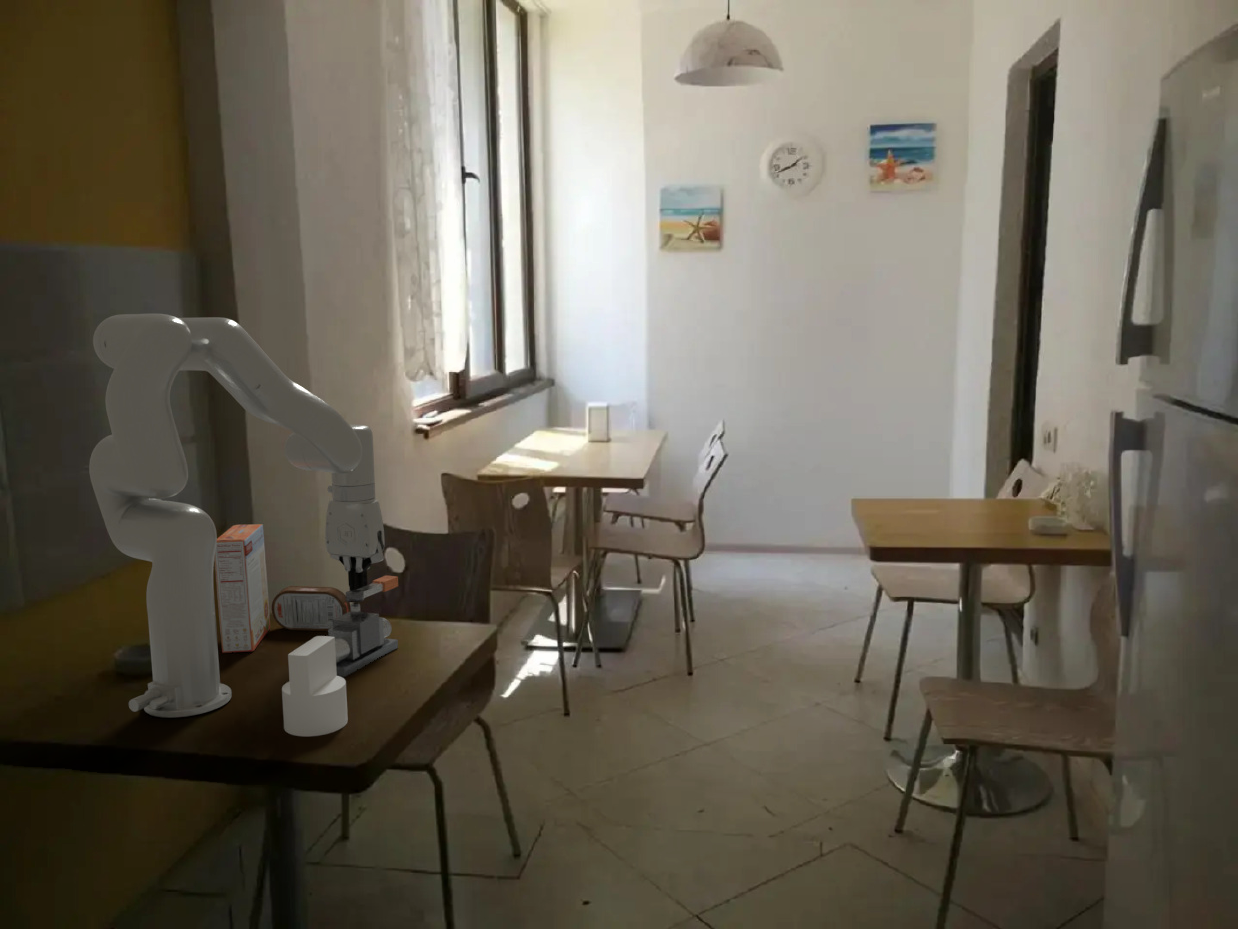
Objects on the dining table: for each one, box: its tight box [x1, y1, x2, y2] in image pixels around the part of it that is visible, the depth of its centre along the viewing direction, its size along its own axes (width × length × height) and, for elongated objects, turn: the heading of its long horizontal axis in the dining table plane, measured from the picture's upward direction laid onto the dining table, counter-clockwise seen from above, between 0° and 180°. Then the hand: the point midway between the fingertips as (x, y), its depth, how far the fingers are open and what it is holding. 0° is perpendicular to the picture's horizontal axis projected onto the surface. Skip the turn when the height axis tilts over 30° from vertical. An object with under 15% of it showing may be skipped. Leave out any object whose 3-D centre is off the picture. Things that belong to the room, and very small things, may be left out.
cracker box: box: [214, 523, 271, 654], centre depth 186 cm, size 14×6×21 cm, turn 6°
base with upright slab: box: [281, 635, 349, 737], centre depth 148 cm, size 9×9×12 cm
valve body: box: [327, 602, 399, 678], centre depth 176 cm, size 16×6×10 cm, turn 159°
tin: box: [271, 585, 351, 632], centre depth 194 cm, size 15×3×8 cm, turn 84°
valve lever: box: [345, 575, 399, 603], centre depth 180 cm, size 12×3×2 cm, turn 158°
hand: (358, 591), depth 186 cm, fingers closed
